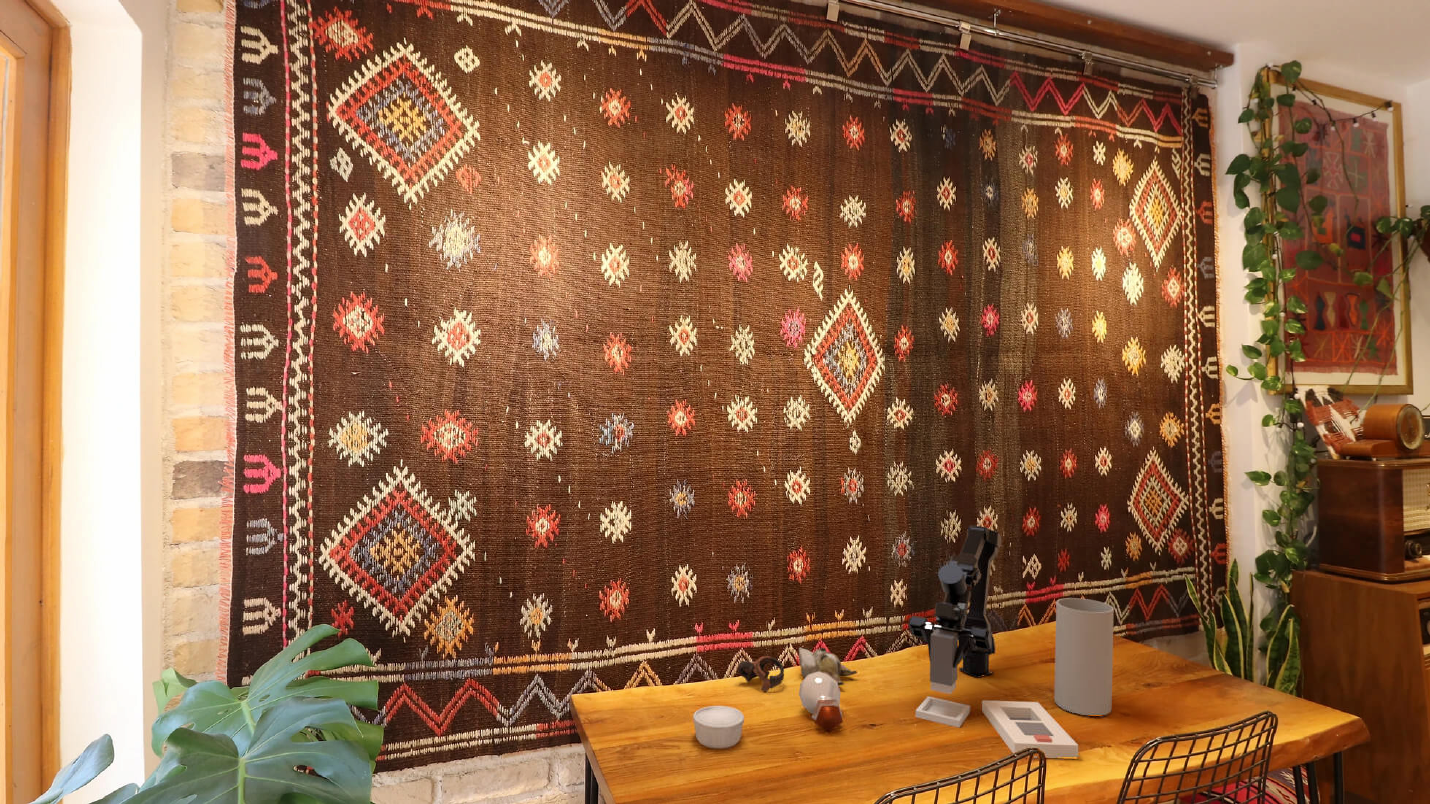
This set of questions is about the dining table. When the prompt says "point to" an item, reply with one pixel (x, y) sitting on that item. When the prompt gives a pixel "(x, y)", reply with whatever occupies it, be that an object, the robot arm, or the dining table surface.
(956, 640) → the plug
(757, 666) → the brown curved piece
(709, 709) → the ramekin
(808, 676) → the potion bottle
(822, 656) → the ceramic sculpture
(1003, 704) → the power strip
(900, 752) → the dining table surface
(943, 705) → the tray
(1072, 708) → the cylinder vase
